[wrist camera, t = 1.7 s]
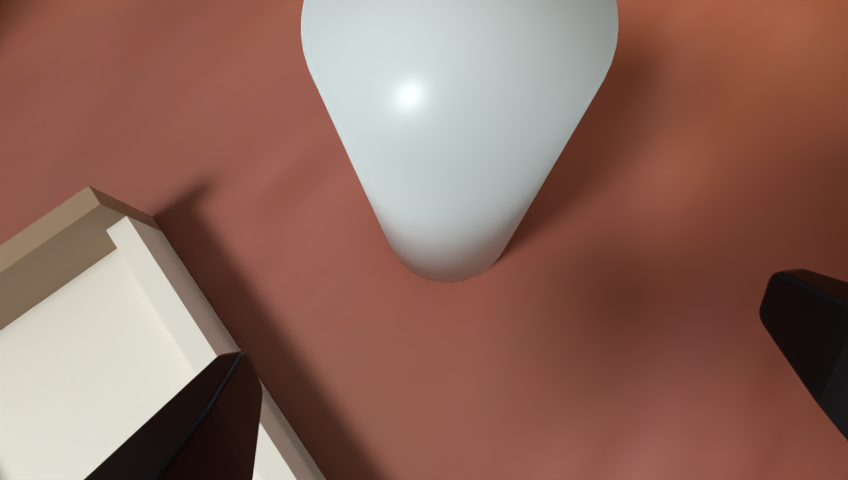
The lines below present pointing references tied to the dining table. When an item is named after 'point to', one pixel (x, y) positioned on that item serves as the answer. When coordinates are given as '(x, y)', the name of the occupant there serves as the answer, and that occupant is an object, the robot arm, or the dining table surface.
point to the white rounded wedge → (456, 111)
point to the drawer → (106, 343)
